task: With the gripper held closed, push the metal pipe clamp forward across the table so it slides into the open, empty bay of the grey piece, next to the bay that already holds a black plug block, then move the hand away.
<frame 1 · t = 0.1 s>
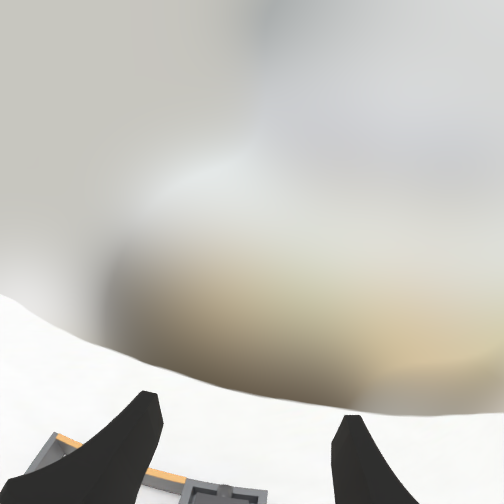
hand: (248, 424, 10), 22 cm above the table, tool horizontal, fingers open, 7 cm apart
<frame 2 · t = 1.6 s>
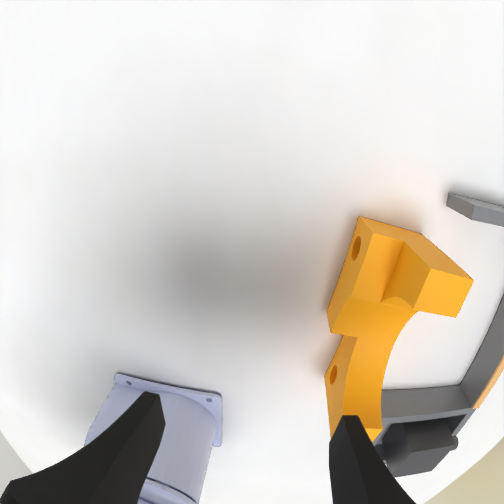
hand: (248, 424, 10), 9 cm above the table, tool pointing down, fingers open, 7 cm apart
grey piece: (441, 347, 19), on the table
pipe clamp: (358, 309, 19), on the table
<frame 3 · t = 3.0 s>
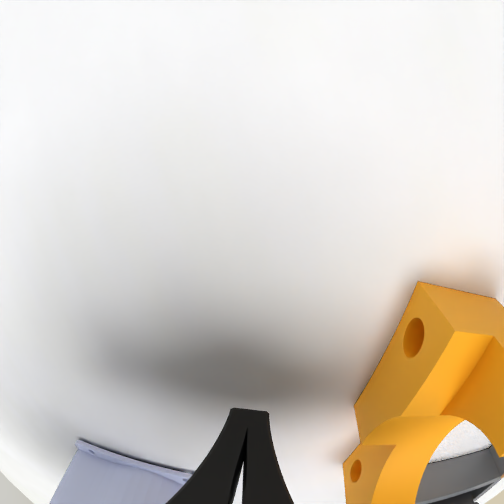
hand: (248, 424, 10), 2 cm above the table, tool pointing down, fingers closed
grey piece: (479, 420, 12), on the table
pipe clamp: (396, 396, 12), on the table
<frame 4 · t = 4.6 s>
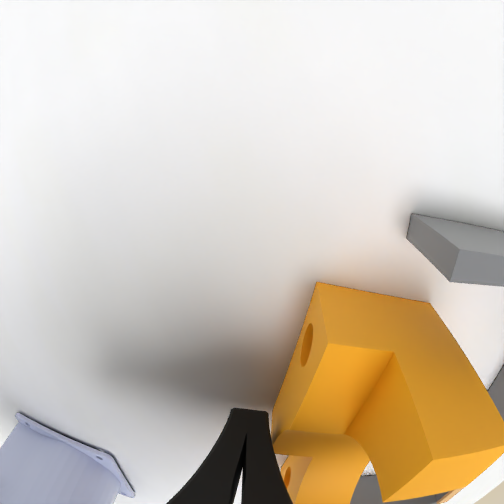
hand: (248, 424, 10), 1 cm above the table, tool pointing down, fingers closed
grey piece: (396, 438, 12), on the table
pipe clamp: (323, 404, 12), on the table
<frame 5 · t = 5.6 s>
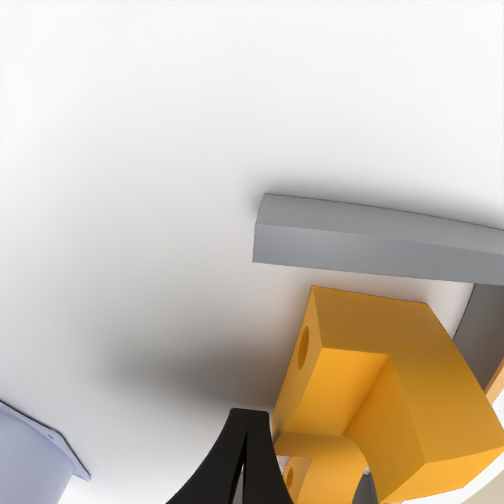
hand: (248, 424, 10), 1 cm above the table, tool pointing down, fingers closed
grey piece: (314, 440, 13), on the table
pipe clamp: (323, 405, 12), on the table, touching gripper
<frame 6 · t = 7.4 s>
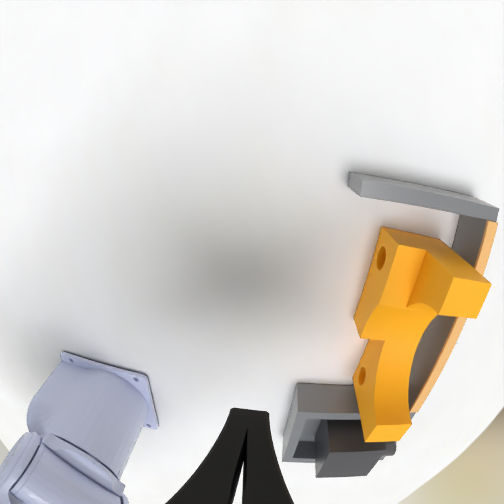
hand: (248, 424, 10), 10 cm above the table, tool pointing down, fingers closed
grey piece: (365, 341, 20), on the table
pipe clamp: (383, 313, 20), on the table
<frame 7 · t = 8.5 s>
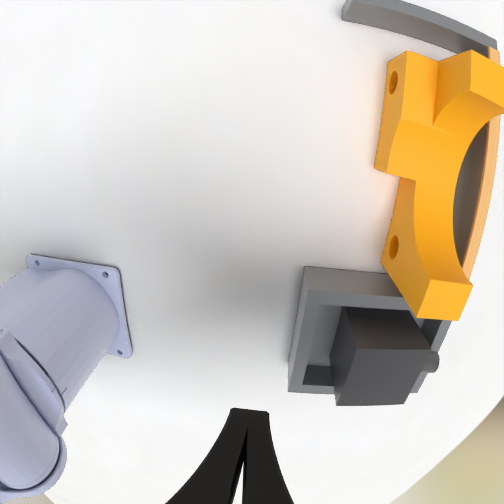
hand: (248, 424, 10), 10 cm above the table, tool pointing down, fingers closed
grey piece: (385, 202, 17), on the table
pipe clamp: (406, 167, 16), on the table
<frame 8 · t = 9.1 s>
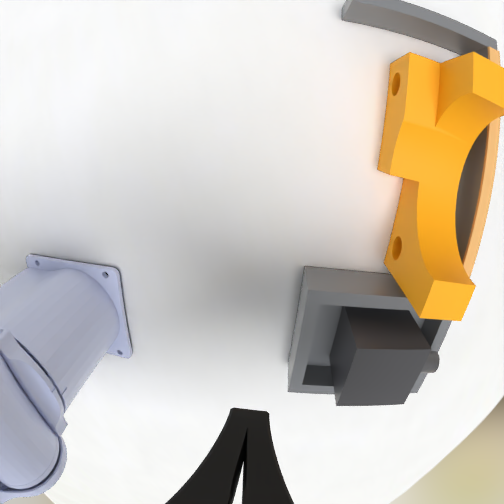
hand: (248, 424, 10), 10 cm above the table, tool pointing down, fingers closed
grey piece: (385, 202, 17), on the table
pipe clamp: (409, 168, 16), on the table
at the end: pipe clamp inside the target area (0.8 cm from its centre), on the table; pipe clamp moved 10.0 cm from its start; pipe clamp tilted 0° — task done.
